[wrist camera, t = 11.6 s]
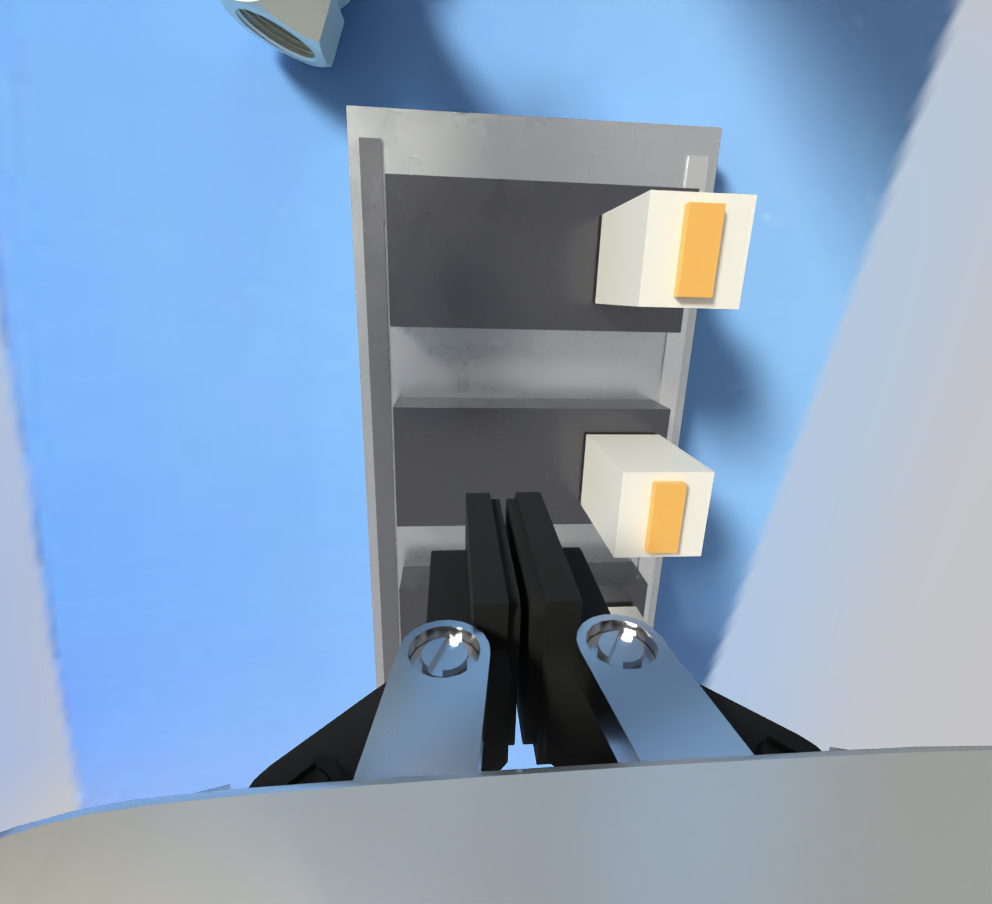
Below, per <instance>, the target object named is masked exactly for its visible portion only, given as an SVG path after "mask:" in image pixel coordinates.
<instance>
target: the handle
mask: <svg viewBox="0 0 992 904" xmlns="http://www.w3.org/2000/svg"><path fill="white" fill-rule="evenodd" d="M756 199H757V195H749V194H728V193H707V192H686V191H665V190H649V191H647V192H645V193H643V194H641V195H639V196H637V197H636V198H634V199H632V200H630V201H628V202H626V203H624V204H622V205H620V206H618V207H616V208H614V209H612V210H610V211H608V212H606V213H604V214H602V225H601V237H600V250H599V262H598V274H597V287H596V299H595V303H596V304H609V305H623V306H637V307H672V308H711V309H739V305H740V298H741V292H742V286H743V280H744V274H745V267H746V261H747V255H748V249H749V243H750V237H751V230H752V224H753V218H754V212H755V206H756Z"/></svg>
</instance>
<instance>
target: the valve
mask: <svg viewBox="0 0 992 904" xmlns="http://www.w3.org/2000/svg"><path fill="white" fill-rule="evenodd" d="M349 1H350V0H221V2H222V4H223V6H224V7H225V9H226V10H227V12H228V13H229V14H230V15H231V16H232V17H233V18H234V19H235V20H236V21H237V22H238V23H239V24H241V25H242V26H243V27H244V28H245V29H247V30H248V31H249V32H251V33H252V34H253V35H255V36H256V37H258V38H259V39H261V40H262V41H264V42H265V43H267V44H268V45H270V46H272V47H273V48H275V49H277V50H278V51H280V52H282V53H284V54H286V55H288V56H290V57H292V58H294V59H296V60H298V61H300V62H303V63H305V64H308V65H311V66H315V67H332V65H333V61H334V58H335V54H336V50H337V47H338V43H339V40H340V36H341V33H342V29H343V26H344V22H345V21H344V18H343V16H342V13H341V10H340V9H341V8H343V7H344V6H345V5H346V4H347V3H348V2H349Z"/></svg>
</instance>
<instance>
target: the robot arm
mask: <svg viewBox="0 0 992 904" xmlns="http://www.w3.org/2000/svg"><path fill="white" fill-rule="evenodd" d="M516 704H517V710H518V717H519V723H520V730H521V737H522V742H523V744H533V746H534V752H535V757H536V763H537V765H541V764H552V765H553V766H555V767H546V768H530V769H514V770H501V769H502V768H503V767H504V765H505V764H506V763H507V762H508V745H514V743H515V724H516ZM0 904H992V746H938V747H937V746H932V747H901V748H883V749H861V750H846V749H840V748H833V747H830V749H829V751H821V750H820V749H819V748H818V747H817V746H816V745H814V744H812V743H811V742H809V741H808V740H806V739H804V738H803V737H801V736H800V735H798V734H796V733H794V732H792V731H790V730H788V729H786V728H784V727H782V726H780V725H778V724H776V723H774V722H773V721H770V720H768V719H767V718H765V717H762V716H760V715H759V714H757V713H755V712H753V711H751V710H749V709H747V708H745V707H743V706H741V705H739V704H737V703H735V702H733V701H731V700H729V699H728V698H726V697H724V696H722V695H720V694H718V693H716V692H714V691H712V690H710V689H708V688H706V687H704V686H702V685H700V684H698V682H697V681H696V680H695V679H694V677H693V676H692V675H691V673H690V672H689V671H688V670H687V668H686V667H685V666H684V665H683V663H682V662H681V661H680V659H679V658H678V657H677V656H676V654H675V653H674V652H673V650H672V649H671V648H670V647H669V645H668V644H667V643H666V642H665V640H664V639H663V638H662V636H661V635H659V634H658V633H657V632H656V631H655V630H654V629H653V628H652V627H650V626H649V625H647V624H645V623H644V622H642V621H640V620H637V619H634V618H632V617H629V616H623V615H617V614H611V613H610V611H609V609H608V607H607V605H606V602H605V600H604V598H603V596H602V594H601V591H600V589H599V587H598V585H597V583H596V580H595V578H594V576H593V574H592V572H591V569H590V567H589V565H588V563H587V561H586V559H585V556H584V554H583V552H582V550H581V549H580V548H579V547H563V548H562V546H561V543H560V541H559V538H558V536H557V533H556V531H555V528H554V526H553V523H552V520H551V518H550V515H549V513H548V510H547V508H546V505H545V503H544V500H543V498H542V495H541V493H540V492H516V493H515V499H506V511H505V523H504V518H503V514H502V509H501V504H500V499H491V496H490V493H466V495H465V550H438V551H431V561H430V576H429V591H428V606H427V621H426V624H423V625H421V626H419V627H418V628H416V629H414V630H412V631H411V632H410V633H409V634H408V635H407V636H406V637H404V639H403V641H402V643H401V644H400V646H399V648H398V651H397V654H396V657H395V660H394V663H393V666H392V669H391V672H390V674H389V677H388V680H387V682H385V683H384V684H383V685H381V686H380V687H379V688H377V689H376V690H374V691H373V692H372V693H370V694H369V695H367V696H366V697H365V698H363V699H362V700H360V701H359V702H358V703H356V704H355V705H354V706H352V707H351V708H349V709H348V710H347V711H345V712H344V713H342V714H341V715H340V716H338V717H337V718H336V719H334V720H333V721H331V722H330V723H329V724H327V725H326V726H324V727H323V728H322V729H320V730H319V731H318V732H316V733H315V734H313V735H312V736H311V737H309V738H308V739H306V740H305V741H304V742H302V743H301V744H299V745H298V746H297V747H295V748H294V749H293V750H291V751H290V752H288V753H287V754H286V755H284V756H283V757H281V758H280V759H279V760H277V761H276V762H275V763H273V764H272V765H270V766H269V767H268V768H267V769H266V770H265V771H264V772H262V773H261V774H260V775H259V776H258V777H257V778H256V779H255V780H254V781H253V782H252V784H251V785H250V787H249V788H242V789H231V787H230V784H228V785H224V786H220V787H216V788H213V789H209V790H205V791H201V792H197V793H192V794H182V795H173V796H164V797H155V798H146V799H136V800H129V801H124V802H119V803H113V804H108V805H103V806H97V807H92V808H86V809H81V810H76V811H72V812H68V813H65V814H61V815H57V816H54V817H50V818H46V819H42V820H39V821H35V822H31V823H28V824H24V825H20V826H16V827H14V828H11V829H8V830H6V831H3V832H0Z"/></svg>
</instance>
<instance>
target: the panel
mask: <svg viewBox="0 0 992 904" xmlns="http://www.w3.org/2000/svg"><path fill="white" fill-rule="evenodd" d="M346 114H347V133H348V152H349V171H350V190H351V209H352V228H353V247H354V266H355V285H356V304H357V323H358V342H359V361H360V380H361V399H362V418H363V437H364V456H365V475H366V494H367V513H368V532H369V551H370V570H371V589H372V608H373V627H374V646H375V665H376V684H377V688H379V687H380V686H381V685H383V684H384V683H385V682H387V680H388V677H389V674H390V672H391V669H392V666H393V663H394V660H395V657H396V654H397V651H398V648H399V646H400V644H401V643H402V641H403V639H404V637H406V636H407V635H408V634H409V633H410V632H411V631H412V630H414V629H416V628H418V627H419V626H421V625H423V624H426V621H427V606H428V591H429V576H430V561H431V551H438V550H465V495H466V493H490V496H491V499H500V504H501V509H502V514H503V518H504V523H505V511H506V499H515V493H516V492H540V493H541V495H542V498H543V500H544V503H545V505H546V508H547V510H548V513H549V515H550V518H551V520H552V523H553V526H554V528H555V531H556V533H557V536H558V538H559V541H560V543H561V546H562V548H563V547H579V548H580V549H581V550H582V552H583V554H584V556H585V559H586V561H587V563H588V565H589V567H590V569H591V572H592V574H593V576H594V578H595V580H596V583H597V585H598V587H599V589H600V591H601V594H602V596H603V598H604V600H605V602H606V605H607V607H632V606H636V607H637V609H638V610H639V612H640V614H641V615H642V617H643V619H644V620H645V622H646V624H647V625H649V626H650V627H652V628H653V626H654V618H655V611H656V604H657V597H658V589H659V582H660V575H661V568H662V560H663V557H631V558H614V557H613V555H612V554H611V552H610V551H609V549H608V547H607V546H606V544H605V542H604V541H603V539H602V538H601V536H600V534H599V533H598V531H597V530H596V528H595V526H594V525H593V523H592V522H591V520H590V518H589V517H588V515H587V514H586V512H585V510H584V509H583V507H582V506H581V494H582V482H583V470H584V457H585V445H586V434H613V435H661V436H662V437H664V438H665V439H667V440H668V441H670V442H671V443H672V444H674V445H675V446H677V447H678V444H679V437H680V430H681V423H682V415H683V408H684V401H685V394H686V387H687V379H688V372H689V365H690V358H691V350H692V343H693V336H694V329H695V321H696V314H697V308H672V307H637V306H623V305H609V304H596V303H595V299H596V287H597V274H598V262H599V250H600V237H601V225H602V214H604V213H606V212H608V211H610V210H612V209H614V208H616V207H618V206H620V205H622V204H624V203H626V202H628V201H630V200H632V199H634V198H636V197H637V196H639V195H641V194H643V193H645V192H647V191H649V190H665V191H686V192H707V193H713V191H714V184H715V176H716V169H717V162H718V155H719V147H720V140H721V133H722V128H716V127H699V126H682V125H666V124H649V123H632V122H616V121H599V120H582V119H566V118H549V117H532V116H515V115H499V114H482V113H465V112H449V111H432V110H415V109H399V108H382V107H365V106H349V105H346Z"/></svg>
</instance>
